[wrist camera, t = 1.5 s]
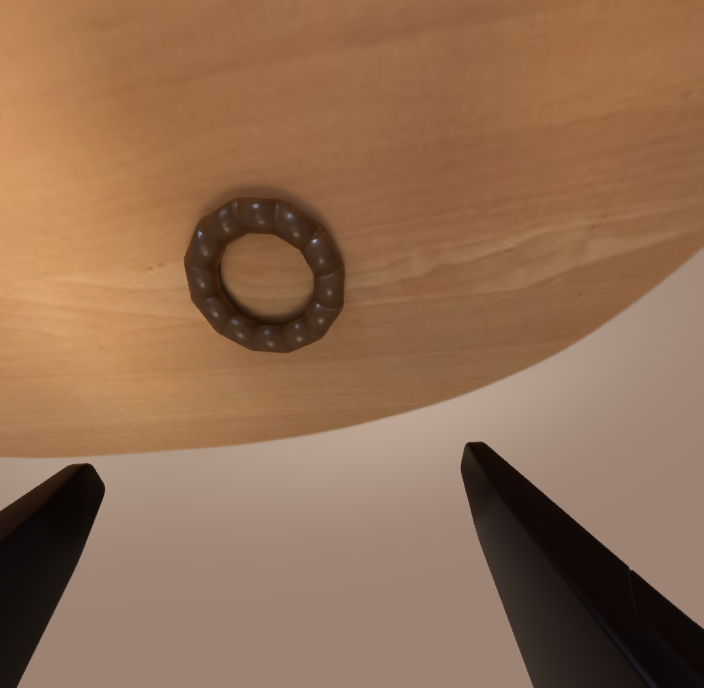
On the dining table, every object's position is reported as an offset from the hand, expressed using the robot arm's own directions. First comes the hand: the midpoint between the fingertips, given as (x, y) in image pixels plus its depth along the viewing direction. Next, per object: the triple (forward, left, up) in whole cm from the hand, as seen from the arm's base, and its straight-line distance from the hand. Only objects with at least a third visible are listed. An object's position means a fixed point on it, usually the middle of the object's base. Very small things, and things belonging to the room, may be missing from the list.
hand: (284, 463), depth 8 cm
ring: (+3, 0, -12) cm, 12 cm away
